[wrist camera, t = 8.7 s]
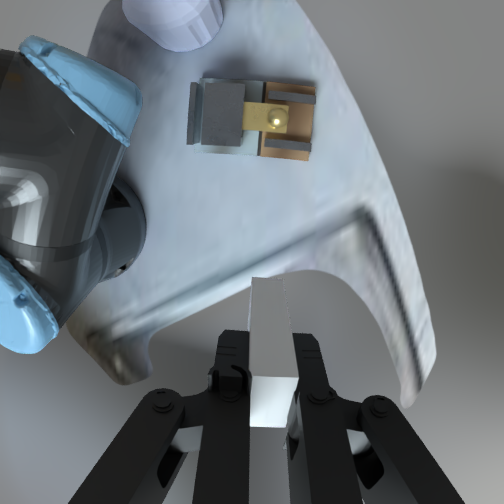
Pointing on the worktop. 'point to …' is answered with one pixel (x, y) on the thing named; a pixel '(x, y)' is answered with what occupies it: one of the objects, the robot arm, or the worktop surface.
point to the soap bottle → (176, 21)
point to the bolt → (265, 117)
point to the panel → (254, 140)
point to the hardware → (231, 115)
